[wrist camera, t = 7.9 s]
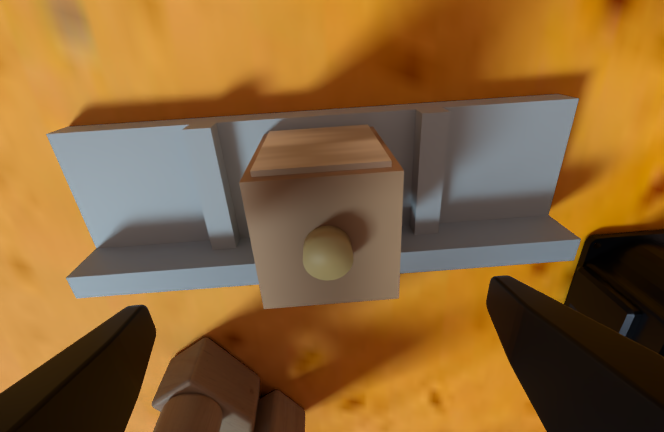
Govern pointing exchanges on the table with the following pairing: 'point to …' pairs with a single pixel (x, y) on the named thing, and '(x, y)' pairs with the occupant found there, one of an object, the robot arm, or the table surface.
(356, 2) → the table surface
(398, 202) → the cabinet block
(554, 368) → the robot arm
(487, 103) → the grey slotted rack
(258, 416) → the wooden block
